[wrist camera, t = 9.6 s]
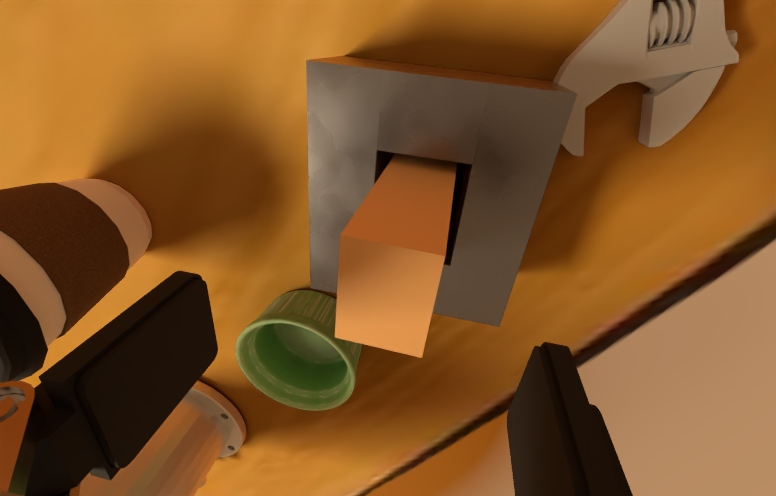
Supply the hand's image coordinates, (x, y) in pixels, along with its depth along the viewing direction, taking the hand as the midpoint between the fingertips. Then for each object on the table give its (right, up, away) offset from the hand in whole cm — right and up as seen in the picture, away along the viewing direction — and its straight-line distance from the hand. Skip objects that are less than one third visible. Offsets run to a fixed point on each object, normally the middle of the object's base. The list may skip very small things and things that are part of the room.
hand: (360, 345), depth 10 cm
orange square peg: (+3, +7, +11) cm, 13 cm away
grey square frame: (+3, +7, +11) cm, 13 cm away
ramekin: (-5, -4, +19) cm, 20 cm away
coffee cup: (-20, +5, +18) cm, 27 cm away
